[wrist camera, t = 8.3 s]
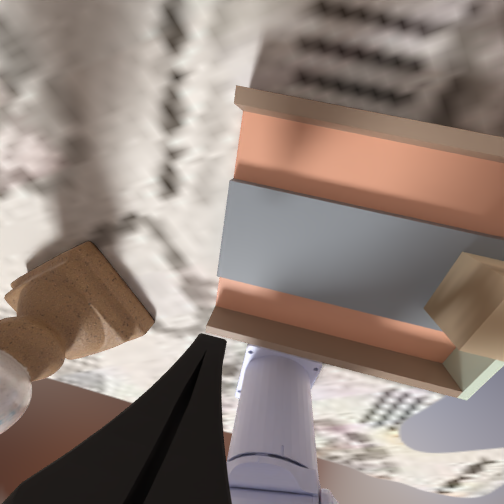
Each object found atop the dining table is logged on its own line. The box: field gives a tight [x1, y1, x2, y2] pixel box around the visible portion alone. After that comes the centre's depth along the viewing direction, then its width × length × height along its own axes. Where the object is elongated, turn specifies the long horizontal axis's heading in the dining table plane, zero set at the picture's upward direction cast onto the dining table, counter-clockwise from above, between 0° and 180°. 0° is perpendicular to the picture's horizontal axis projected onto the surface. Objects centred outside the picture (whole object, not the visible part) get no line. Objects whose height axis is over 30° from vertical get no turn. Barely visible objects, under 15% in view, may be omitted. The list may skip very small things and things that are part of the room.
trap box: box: [206, 85, 504, 400], centre depth 16 cm, size 18×23×3 cm
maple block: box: [424, 252, 504, 362], centre depth 14 cm, size 5×5×4 cm
